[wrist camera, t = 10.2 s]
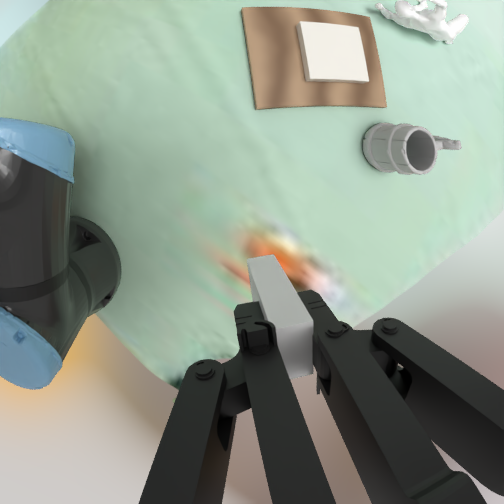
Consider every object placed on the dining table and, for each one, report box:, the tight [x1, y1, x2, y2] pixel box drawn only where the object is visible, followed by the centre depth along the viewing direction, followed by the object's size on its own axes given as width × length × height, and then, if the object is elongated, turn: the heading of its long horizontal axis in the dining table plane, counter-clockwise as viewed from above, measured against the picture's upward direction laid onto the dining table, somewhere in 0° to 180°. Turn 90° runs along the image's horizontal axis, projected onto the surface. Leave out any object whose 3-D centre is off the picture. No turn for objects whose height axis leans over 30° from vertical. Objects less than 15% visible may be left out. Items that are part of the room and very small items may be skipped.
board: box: [241, 7, 387, 110], centre depth 32 cm, size 20×16×1 cm
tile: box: [296, 21, 369, 84], centre depth 31 cm, size 2×9×9 cm
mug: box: [363, 123, 461, 175], centre depth 33 cm, size 8×12×12 cm, turn 107°
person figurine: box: [375, 0, 469, 44], centre depth 27 cm, size 13×13×18 cm
